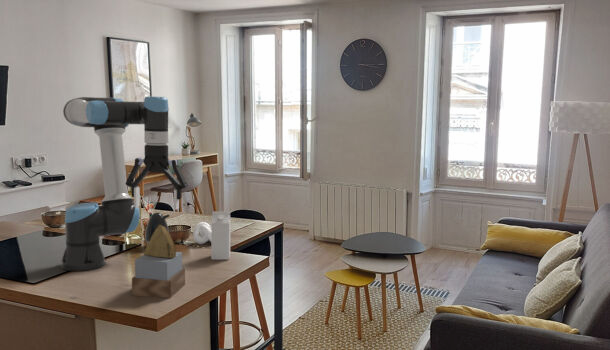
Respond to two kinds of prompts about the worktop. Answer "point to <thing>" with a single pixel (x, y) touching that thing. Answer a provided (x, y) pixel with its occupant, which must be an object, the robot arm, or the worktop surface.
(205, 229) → the white spiral shell
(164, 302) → the worktop surface
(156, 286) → the bottom block
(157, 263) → the top block
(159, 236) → the rock
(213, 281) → the worktop surface
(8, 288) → the worktop surface
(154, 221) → the pump dispenser
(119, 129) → the robot arm
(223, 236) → the milk carton
